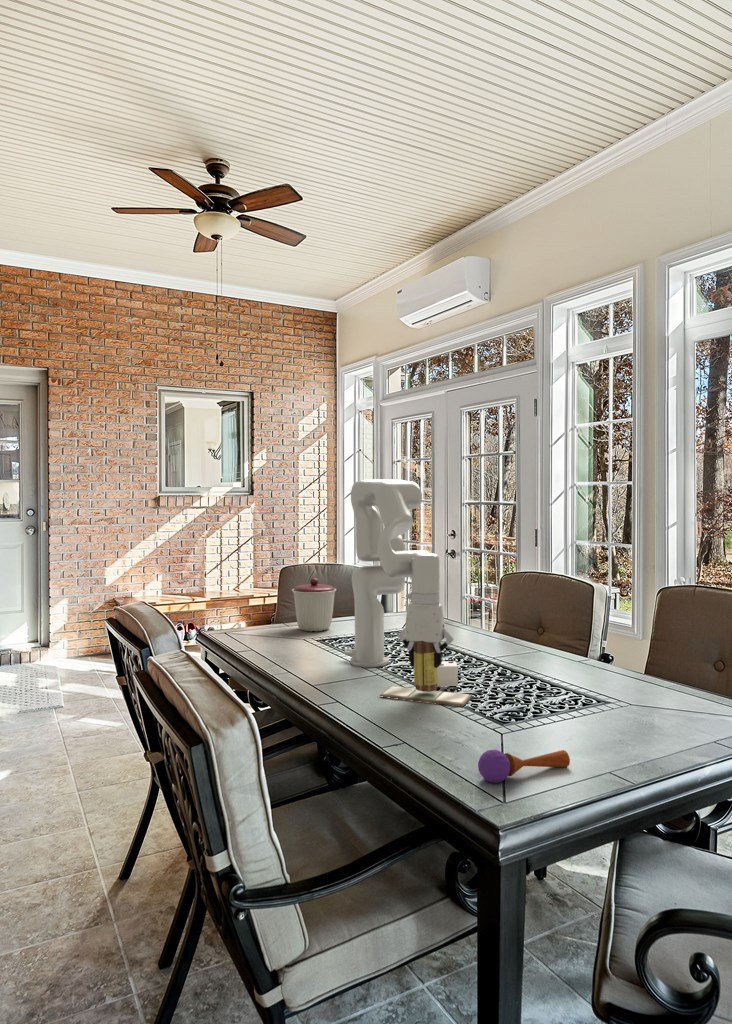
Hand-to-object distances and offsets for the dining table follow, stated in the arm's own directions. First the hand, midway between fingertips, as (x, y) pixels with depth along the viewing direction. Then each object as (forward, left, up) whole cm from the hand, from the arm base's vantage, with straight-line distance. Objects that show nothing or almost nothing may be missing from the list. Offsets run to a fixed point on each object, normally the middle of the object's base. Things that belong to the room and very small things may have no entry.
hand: (425, 664), depth 186 cm
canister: (-71, +74, -9) cm, 103 cm away
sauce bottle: (0, 0, -7) cm, 7 cm away
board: (0, 0, -9) cm, 9 cm away
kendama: (+33, -42, -9) cm, 54 cm away
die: (+2, +15, -9) cm, 17 cm away
